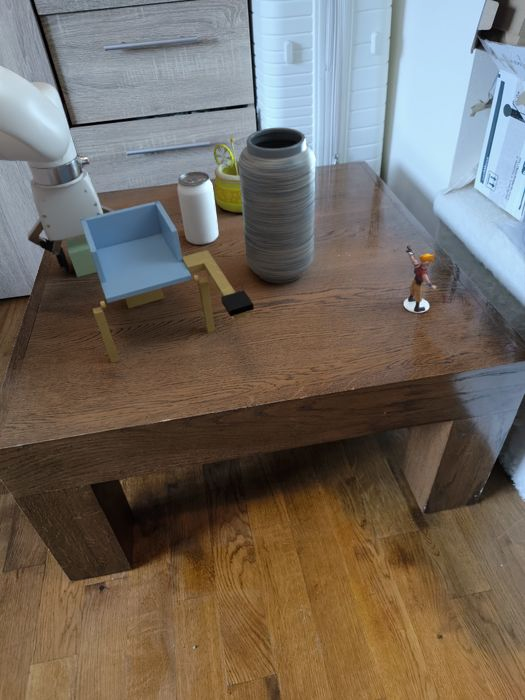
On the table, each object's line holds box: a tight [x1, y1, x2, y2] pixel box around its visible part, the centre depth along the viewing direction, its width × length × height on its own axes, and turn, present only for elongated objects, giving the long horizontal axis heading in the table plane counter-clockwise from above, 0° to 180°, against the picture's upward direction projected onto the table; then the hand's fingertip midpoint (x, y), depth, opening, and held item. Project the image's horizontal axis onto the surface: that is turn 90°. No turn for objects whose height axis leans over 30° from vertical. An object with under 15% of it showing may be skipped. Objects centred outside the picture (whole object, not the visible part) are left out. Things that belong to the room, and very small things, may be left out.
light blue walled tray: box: [80, 200, 255, 320], centre depth 70 cm, size 17×26×6 cm, turn 23°
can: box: [176, 171, 219, 246], centre depth 96 cm, size 6×6×12 cm
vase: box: [238, 127, 316, 284], centre depth 83 cm, size 12×12×23 cm
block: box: [64, 235, 97, 278], centre depth 93 cm, size 5×5×5 cm
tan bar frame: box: [92, 274, 216, 364], centre depth 78 cm, size 16×13×10 cm
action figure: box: [403, 245, 438, 314], centre depth 79 cm, size 12×3×9 cm, turn 9°
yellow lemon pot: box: [213, 136, 243, 213], centre depth 106 cm, size 13×11×12 cm
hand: (88, 263), depth 94 cm, fingers open, 6 cm apart
